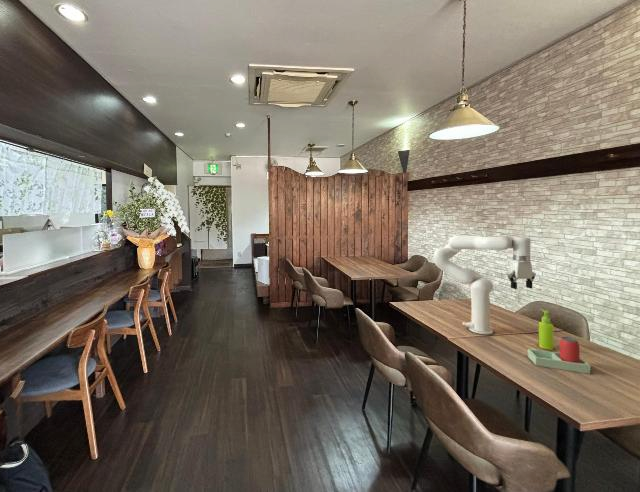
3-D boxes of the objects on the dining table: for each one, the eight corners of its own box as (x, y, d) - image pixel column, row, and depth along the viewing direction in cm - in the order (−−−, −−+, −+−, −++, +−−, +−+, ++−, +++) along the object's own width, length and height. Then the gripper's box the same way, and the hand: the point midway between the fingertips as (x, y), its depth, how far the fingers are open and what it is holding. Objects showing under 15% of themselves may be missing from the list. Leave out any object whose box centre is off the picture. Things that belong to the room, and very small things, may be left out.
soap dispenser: (548, 345, 159) (548, 309, 158) (555, 350, 152) (555, 313, 152) (535, 343, 161) (535, 308, 160) (542, 349, 154) (542, 312, 154)
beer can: (583, 368, 133) (583, 342, 132) (566, 366, 134) (566, 341, 134) (572, 361, 139) (572, 336, 139) (556, 359, 140) (556, 335, 140)
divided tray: (535, 365, 138) (535, 357, 137) (527, 355, 147) (527, 348, 147) (590, 373, 130) (590, 365, 130) (577, 363, 139) (577, 355, 139)
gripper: (528, 257, 168) (528, 286, 169) (502, 258, 166) (502, 287, 167) (541, 259, 161) (541, 289, 161) (514, 259, 159) (513, 290, 159)
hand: (521, 288), depth 164 cm, fingers open, 9 cm apart
